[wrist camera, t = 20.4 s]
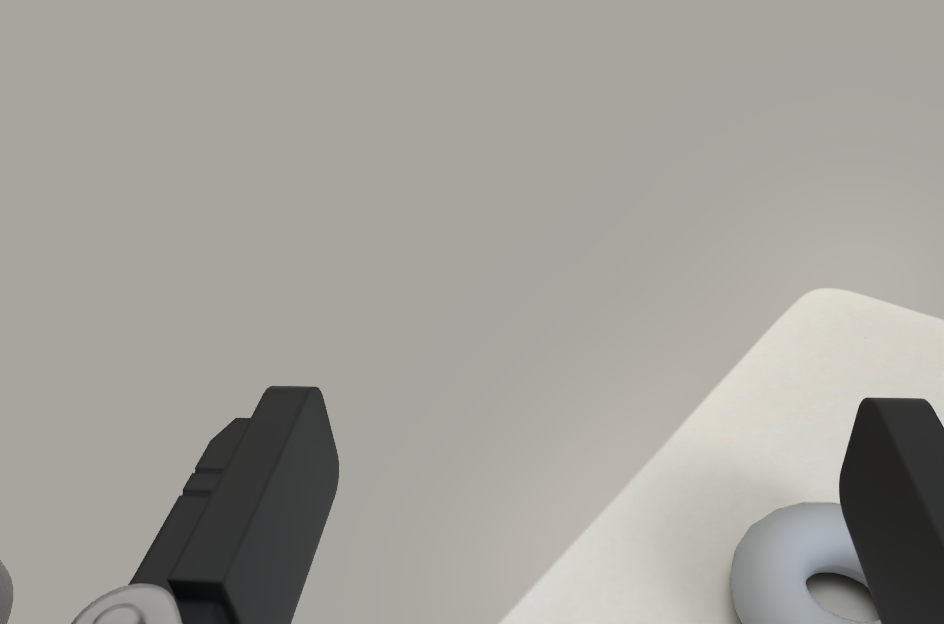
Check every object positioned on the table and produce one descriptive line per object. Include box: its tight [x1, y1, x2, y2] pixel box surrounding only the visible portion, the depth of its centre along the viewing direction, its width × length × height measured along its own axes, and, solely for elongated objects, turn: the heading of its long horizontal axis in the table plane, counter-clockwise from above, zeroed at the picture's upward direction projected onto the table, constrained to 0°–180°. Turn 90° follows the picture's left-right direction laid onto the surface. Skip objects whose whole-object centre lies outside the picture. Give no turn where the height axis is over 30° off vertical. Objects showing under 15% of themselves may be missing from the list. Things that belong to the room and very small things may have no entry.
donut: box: [730, 503, 881, 624], centre depth 34 cm, size 10×4×10 cm
